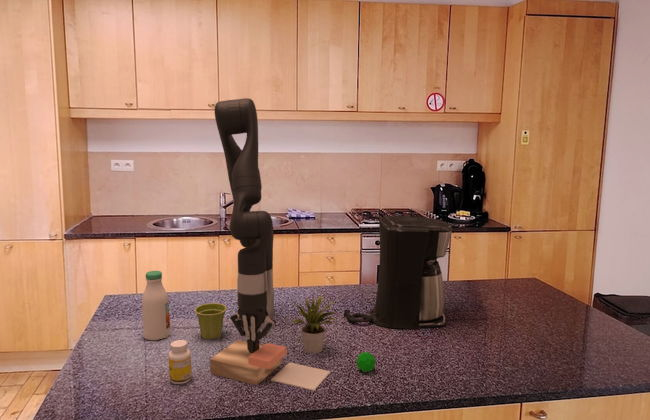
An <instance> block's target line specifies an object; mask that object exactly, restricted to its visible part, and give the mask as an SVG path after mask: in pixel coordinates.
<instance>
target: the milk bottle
mask: <svg viewBox="0 0 650 420" xmlns="http://www.w3.org/2000/svg"><path fill="white" fill-rule="evenodd" d="M162 280H163V273H162V271H161V270H151V271H147V272H146V273H145V281H146V284H145V289H144V292H143V293H142V297H141V315H142V316H141V317H142V330H143V331H142V333H143V337H144V339H145V340H147V339H148V340H147V341H160V340H159V339H161V340H163V338H164V339H167V338H168V337H169V336H170V334H171V322H170V321H171V320H170V319H171V318H170V303H169V295H168V293H167V290H166V289H165V287H164V284H163V282H162Z"/></svg>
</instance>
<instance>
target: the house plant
mask: <svg viewBox="0 0 650 420" xmlns="http://www.w3.org/2000/svg"><path fill="white" fill-rule="evenodd" d="M314 297H315V294H312V296H311V304H310V303H309V301H308V299H306V298H305V297H304V298H303V299H304V301H305V303H304V301H302V300H300V299H299V300H298V301H296V302H294V303H293V304H294V305H293V304H292V306H293V307H294V306H295V307H296V308H298V313H299V314H300V315H301V316H302V317H303V318H304V319H305V321H306V322H307V323H306V322H305V321H303V319H301V318H296V319H295V320H293V323H294V325H296V324H304V326H302V327H301V328H300V332H301V338H302V344H303V349H304V352H305V353H308V354H319V353H321V352H323V347H324V341H325V337H326V331H327V330H326V327H325V326H323V324H332V325H334V323H333V321H335V322H337V321H336V319H335V318H334V317H332V316H331V317H327V316H330V315H335V314H336V315H339V314H340V313H338V312H333V311H332V312H331V311H329V310H334V308H333V307H330V305H331V304H334V303H335V302H336V301H331V302H329V303H328V304H326V305H325V306H324V307H323V308H322V309H321V310H320V307H321V304H322V302H324V300H326V297H323V295H322V294H321V295H319V296H318V297H317V299H316V301H315V299H314ZM322 297H323V298H322ZM299 302H302V303H304V305H305V306H306V308H307V311H306V310H305V308H304V307H303V306H302V305H301V304H300V303H299ZM328 307H329V308H328Z"/></svg>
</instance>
